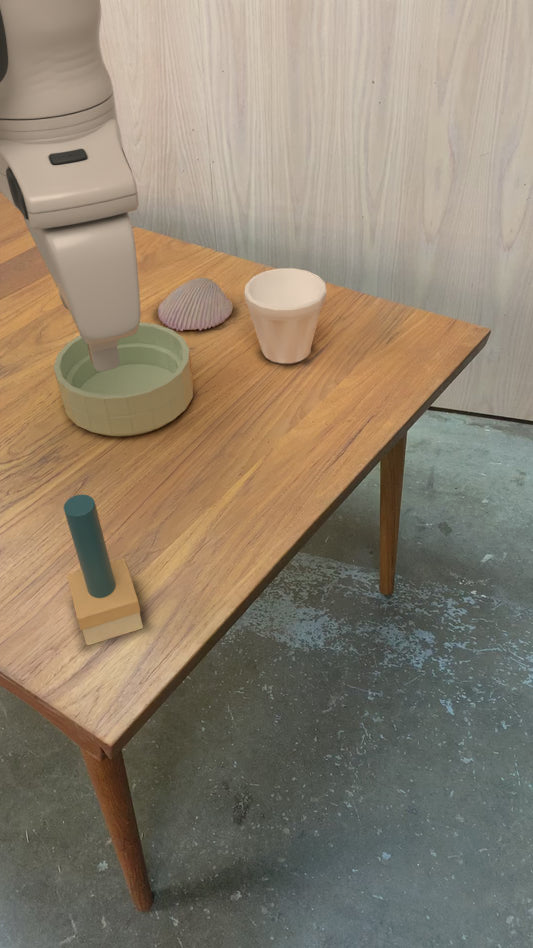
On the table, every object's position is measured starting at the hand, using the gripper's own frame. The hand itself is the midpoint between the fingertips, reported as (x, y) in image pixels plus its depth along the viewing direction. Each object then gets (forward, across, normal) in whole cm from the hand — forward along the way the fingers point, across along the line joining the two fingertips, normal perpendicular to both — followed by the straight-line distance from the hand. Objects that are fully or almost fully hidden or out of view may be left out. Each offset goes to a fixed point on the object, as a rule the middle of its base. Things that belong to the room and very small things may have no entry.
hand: (89, 333), depth 59 cm
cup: (+25, -25, +28) cm, 45 cm away
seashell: (+25, -39, +21) cm, 51 cm away
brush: (+25, +6, -4) cm, 26 cm away
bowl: (+25, -24, +7) cm, 35 cm away
